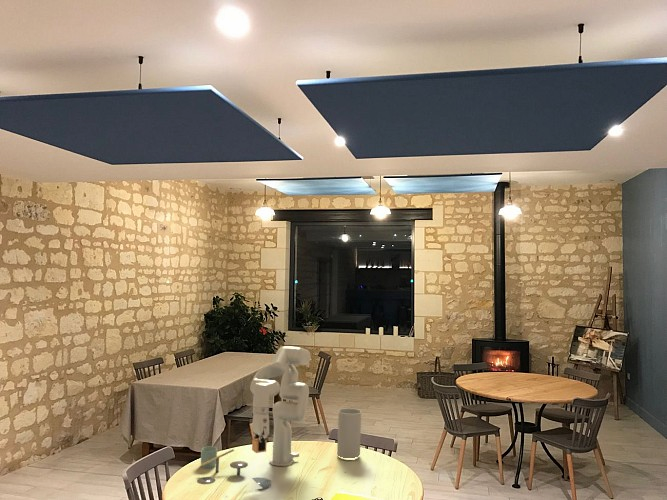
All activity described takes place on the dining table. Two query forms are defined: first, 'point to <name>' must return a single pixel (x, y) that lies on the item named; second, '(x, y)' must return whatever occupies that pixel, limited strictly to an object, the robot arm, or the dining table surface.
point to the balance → (209, 479)
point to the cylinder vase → (349, 433)
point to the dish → (262, 482)
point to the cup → (208, 456)
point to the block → (257, 445)
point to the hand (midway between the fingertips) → (259, 448)
